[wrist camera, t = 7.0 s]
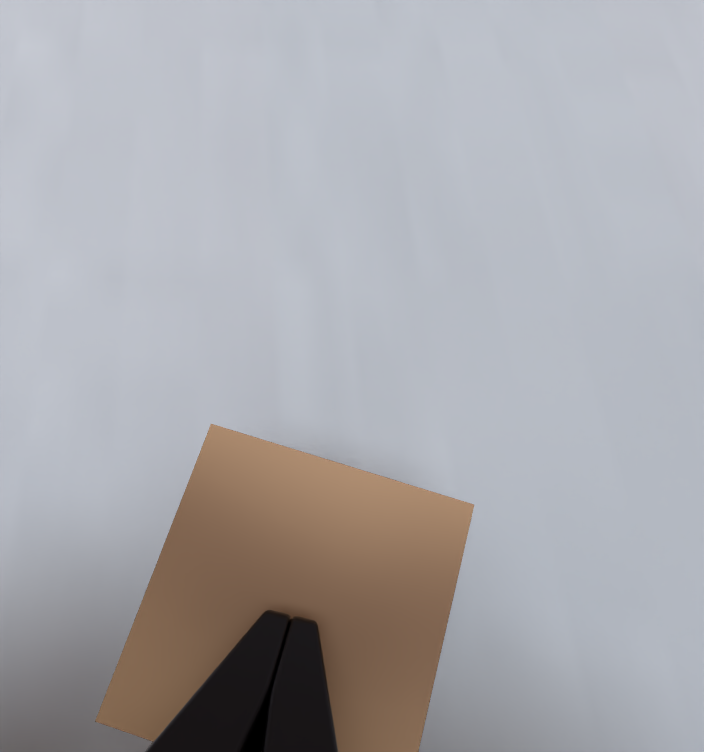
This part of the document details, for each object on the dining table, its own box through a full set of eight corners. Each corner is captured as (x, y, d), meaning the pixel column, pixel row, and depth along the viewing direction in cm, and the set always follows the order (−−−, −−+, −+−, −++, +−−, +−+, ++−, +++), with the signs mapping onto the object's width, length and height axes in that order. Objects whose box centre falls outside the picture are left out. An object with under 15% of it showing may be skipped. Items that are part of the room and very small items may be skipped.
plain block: (368, 694, 16) (400, 826, 8) (207, 640, 16) (94, 721, 9) (412, 524, 17) (474, 504, 10) (263, 477, 18) (211, 423, 10)
